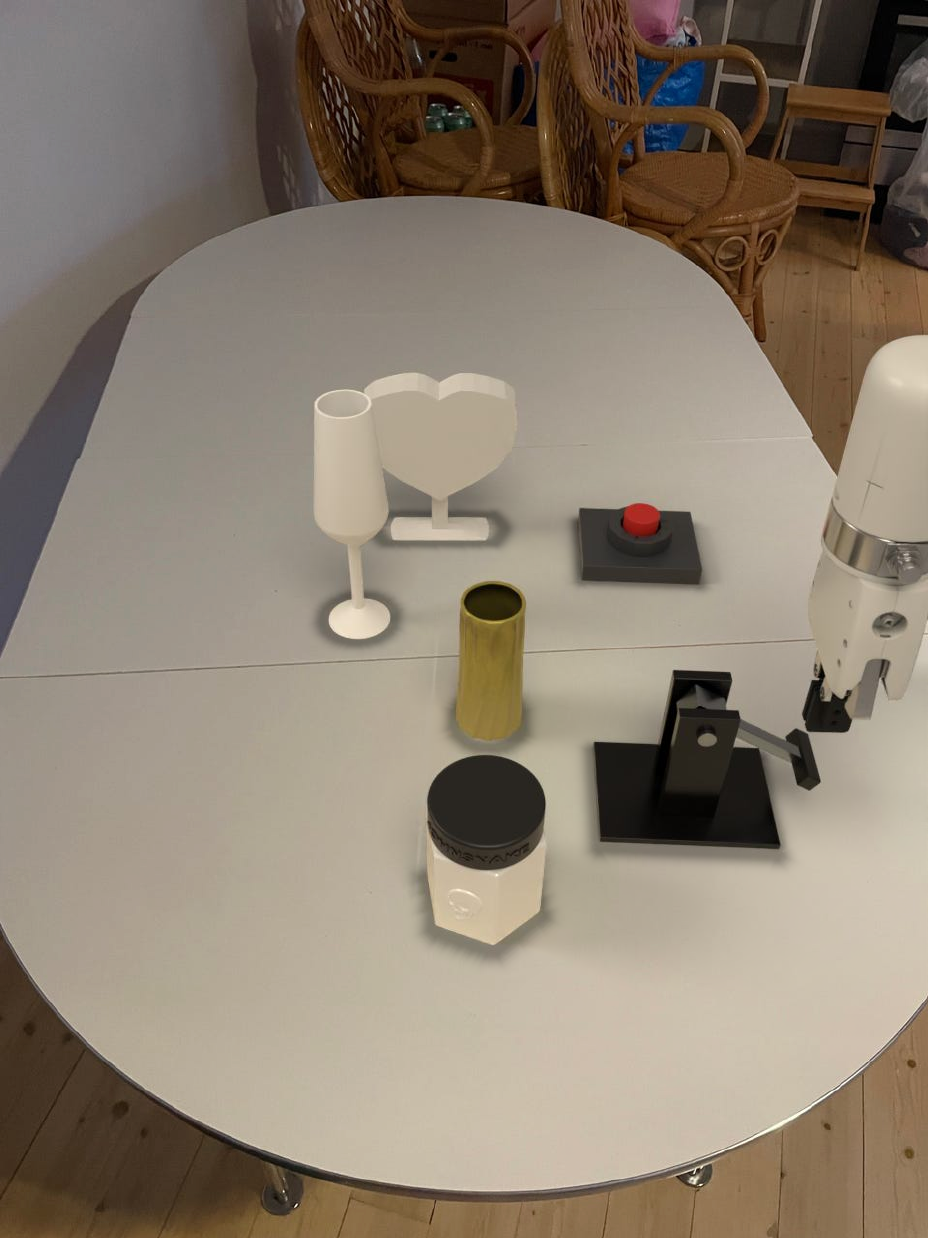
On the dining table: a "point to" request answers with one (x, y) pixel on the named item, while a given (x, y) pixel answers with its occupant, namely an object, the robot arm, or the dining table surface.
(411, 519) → the heart sculpture
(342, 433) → the champagne flute
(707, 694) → the lever
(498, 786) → the jar
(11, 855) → the dining table surface
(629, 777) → the bracket
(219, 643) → the dining table surface
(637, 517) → the button
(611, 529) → the switch block
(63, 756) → the dining table surface
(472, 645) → the vase
